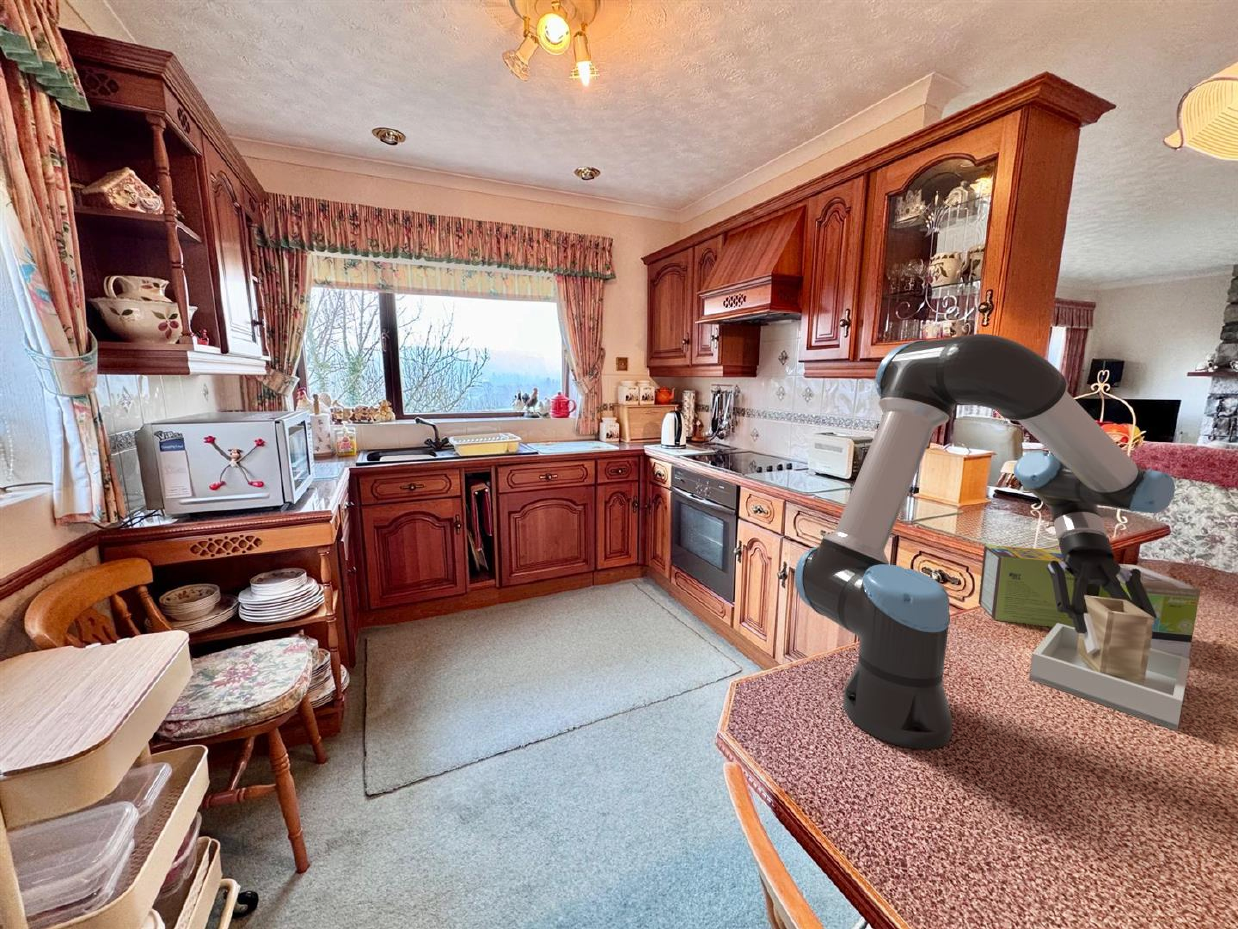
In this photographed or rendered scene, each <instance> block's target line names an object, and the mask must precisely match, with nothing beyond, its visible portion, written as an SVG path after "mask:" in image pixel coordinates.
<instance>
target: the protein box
mask: <svg viewBox="0 0 1238 929" xmlns="http://www.w3.org/2000/svg"><path fill="white" fill-rule="evenodd" d="M982 556H983V557H982V566H981V575H980V586H979V594H978V604H979V606H981V608H982V609H983V610H984V611H985V612H986V613H987V614H988V615H989V616H990V617H991V618H992V619H994V621H1000V622H1006V623H1007V622H1008V623H1015V622H1017V623H1016V624H1023V623H1025V624H1026V625H1032V626H1041V627H1047V626H1049V628H1054V626H1055V625H1056V624H1057V623H1059V624H1063V625H1066V626H1070V627H1074V628H1075V626H1074V623H1073V619H1071V618H1069V616H1068V614H1067V613H1065V612H1063V613H1061V612H1059V611H1058V610H1057V606H1056V600H1055V594H1054V588H1053V582H1052V576H1051V575H1050V573H1049V572H1048V570H1047V566H1048V565H1049V564H1050V563H1051V562H1052V561H1053V560H1055V561H1057V562H1063V560H1064V558H1063V557H1062V553H1061V550H1058V549H1050V548H1049V549H1047V548H1046V549H1045V548H1035V547H1023V546H1007V545H996V544H995V545H993V544H984V548H983V555H982ZM1064 573H1065V578H1066V583H1067V589H1068V594H1069V600H1070V605H1071V602H1072V596H1073V590H1074V586H1073V584H1074V578H1075V577H1074V576H1073V575H1072V574H1071V573H1069V572H1068V571H1067V570H1066V569H1065V571H1064ZM1025 624H1024V625H1025Z"/></svg>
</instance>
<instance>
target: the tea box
mask: <svg viewBox="0 0 1238 929" xmlns="http://www.w3.org/2000/svg"><path fill="white" fill-rule="evenodd" d="M1118 564H1119V565H1120V567H1121V568H1125V569H1128V570H1132V569H1138V570H1140V571H1141V579H1140V580H1141V583H1142V585H1143V587H1144V589H1145V591H1146V594H1147V596H1148V598H1149V600H1150V602H1151V605H1152V607H1153V609H1154V611H1155V613H1156V616H1157V618H1156V619H1154V624H1153V631H1152V637H1151V644H1150V648H1151V649H1155V650H1159V651H1162V652H1166V653H1170V654H1174V655H1177V656H1181V657H1185V658H1188V659H1189V656H1190V652H1191V647H1192V643H1193V636H1194V631H1195V626H1196V625H1195V624H1196V619H1197V614H1198V606H1199V602H1200V595H1201V588H1200V587H1197V586H1195V585H1192V584H1189V583H1187V582H1183V581H1181V580H1179V579H1175V578H1173V577H1171V576H1168V575H1165V574H1163V573H1160V572H1157V571H1155V570H1151V569H1149V568H1145V567H1143V566H1141V565H1138V564H1137V565H1135V564H1124V563H1123V564H1122V563H1118ZM1116 577H1117V578H1118V579H1119V581H1120V583H1121V584H1120V585H1121V586H1122V588H1123V589H1124V590H1125V592H1126V593H1127V594H1128V596H1129V597H1130V594H1129V592H1128V590H1127V587H1126V584H1125V581H1123V580H1122V577H1121V575H1120V574H1117V575H1116ZM1086 595H1088V596H1096V597H1105V598H1111V596H1110V595H1109V594H1108V592H1107V591H1104V590H1103V588H1102V587H1101V585H1096V584H1088V585H1087V592H1086ZM1130 598H1131V597H1130ZM1131 600H1132V599H1131Z"/></svg>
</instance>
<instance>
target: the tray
mask: <svg viewBox="0 0 1238 929" xmlns="http://www.w3.org/2000/svg"><path fill="white" fill-rule="evenodd" d="M1078 639H1079V633H1077V631H1076V630H1075V628H1074V627H1070V626H1066V625H1063V624H1059V623H1057V624H1056V625H1055V626H1054V627H1052V628H1051V630H1050V631H1049V632H1048V633H1047V635H1046V636H1045V638H1044V639H1042V641H1041V642H1040V643H1039V644H1038V646H1037V647H1036V648H1035V649H1034V651H1033V652H1032V653H1031V659H1030V666H1029V667H1030V668H1029V675H1028V680H1030V681H1033V682H1036V683H1039V684H1042V685H1043V686H1044V685H1045V686H1047V687H1050V688H1053V689H1056V690H1059V691H1062V692H1065V693H1067V694H1071V695H1074V696H1075V697H1079V698H1082V699H1085V700H1087V701H1090V702H1093V703H1096V704H1099V705H1102V706H1105V707H1107V708H1110V709H1113V710H1116V711H1119V712H1121V713H1124V714H1128V715H1130V716H1133V717H1136V718H1138V719H1142V720H1144V721H1147V722H1151V723H1153V724H1156V725H1158V726H1161V727H1163V728H1167V729H1169V730H1173V731H1176V732H1178V730H1179V723H1180V718H1181V711H1182V707H1183V704H1184V703H1183V701H1184V697H1185V691H1186V687H1187V679H1188V675H1189V669H1190V662H1191V658H1189V657H1188V658H1185V657H1181V656H1177V655H1174V654H1170V653H1166V652H1162V651H1159V650H1155V649H1151V648H1150V650H1149V654H1150V657H1149V658H1148V663H1147V669H1146V675H1145V682H1144V684H1137V683H1131V682H1128V681H1125V680H1122V679H1119V678H1115V677H1112V676H1109V675H1106V674H1103V673H1100V672H1096V671H1093V670H1091V669H1090V668H1089V667H1088V666H1087V665H1086V664H1085V663H1084V662H1083V661H1082V660H1081V659H1080V658H1079V657H1078V656H1076V654H1077V646H1078Z"/></svg>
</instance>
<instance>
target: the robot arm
mask: <svg viewBox="0 0 1238 929" xmlns="http://www.w3.org/2000/svg"><path fill="white" fill-rule="evenodd" d="M876 370H877V371H876V374H875V383H876V384H877V386H876V388H875V389H876V391H877V394H878V395H879V398H880V399H879V402H878V406H879V407H880V409H881V411H882V412H883V414H882V417H881V419H880V421H879V424H878V427H877V428H876V431H875V434H874V437H873V438H872V441H871V444H870V446H869V448H868V451H867V453H866V455H865V458H864V460H863V463H862V465H861V466H860V470H859V472H858V475H857V477H856V480H855V482H854V484H853V487H852V489H851V492H850V494H849V497H848V498H847V502H846V504H845V506H844V509H843V511H842V514H841V516H840V518H839V520H838V523H837V526H836V528H835V530H834V531H833V532H832V533H828V534H826V535H823V537H822V539H821V542H820V543H819V546H815V547H811V548H810V549H808V551H805V552H804V553H803V554H802V555H801V556H800V558H799V560H798V561H797V564H796V567H795V570H794V585H795V589H796V591H797V593H798V596H799V597H800V599H801V600H802V602H804V603H805V604H806V605H807V606H809V607H810V608H811V609H812V610H813V611H814V612H816V613H817V614H819V615H821V616H824V617H826V618H827V619H828V620H830V621H832V622H833V623H835V624H837V625H838V626H840V627H842V628H843V629H845V630H847V631H848V632H850V633H852V634H853V635H855V636H857V637H858V638H859V643H858V644H859V646H858V659H857V663H856V665H855V667H854V669H853V672H852V673H851V675H850V677H849V680H848V682H847V684H846V685H845V688H844V690H843V700H842V701H843V702H842V705H843V709H844V712H845V713H846V716H848V719H850V720H851V722H853V723H854V724H855V725H856V726H858V727H859V728H860V729H862V730H863V732H866V733H867V734H870V735H871V736H873V737H875V738H877V739H879V740H882V741H884V742H887V743H889V744H892V745H896V746H898V747H903V748H908V749H916V750H933V749H937V748H941V747H943V746H945V745H947V744H948V743H949V742H950V740H951V738H952V732H953V722H954V721H953V717H952V713H951V708H950V707H949V706H950V705H949V703H948V699H947V695H946V692H945V687H944V685H943V684H944V683H943V680H944V670H945V660H946V652H947V643H948V633H949V626H950V623H951V614H950V598H949V594H948V592H947V590H946V588H944V586H943V585H942V584H941V583H940V582H938V581H937V580H935V579H934V578H933V577H931V576H929V575H927V574H925V573H922V572H921V571H918V570H916V569H912V568H904V567H902V566H899V565H895V564H890V561H889V559H888V557H887V556H886V555H887V554H886V553H885V548H886V546H887V544H888V542H889V539H890V537H891V535H892V532H893V531H894V530H893V529H894V527H895V525H896V522H897V521H898V518H899V515H900V512H901V510H902V508H903V506H904V503H905V501H906V498H907V495H908V493H909V491H910V488H911V486H912V484H913V481H914V480H915V479H914V478H915V476H916V474H917V472H918V469H919V467H920V464H921V462H922V460H923V457H924V455H925V452H926V451H927V447H928V446H929V443H930V440H931V438H932V435H933V433H934V430H935V429H936V428H937V427H939V426H942V425H944V424H946V423H948V422H949V420H950V418H951V417H952V416H951V415H952V414H953V411H954V409H955V407H956V406H976V407H977V406H979V407H984V408H989V409H991V410H993V411H995V412H997V413H998V414H999V415H1000V416H1001V417H1003V418H1005V419H1006V420H1010V421H1015V422H1018V423H1019V424H1020V425H1021V426H1022V427H1023V428H1024V429H1025V430H1026V431H1028V433H1030V434H1031V435H1032V436H1033V437H1034V438H1035V439H1036V440H1037V441H1038V442H1039V443H1040V444H1041V445H1042V446H1044V447H1045V449H1047V450H1048V451H1045V450H1036V451H1031V452H1028V453H1026V454H1025V455H1022V456H1021V457H1019V459H1018V460H1017V461H1016V463H1015V465H1014V466H1013V473H1014V477H1015V478H1016V479H1017V480H1018V481H1019V482H1020V484H1021V485H1022V487H1024V488H1025V489H1027V491H1029V492H1030V493H1031V494H1033V495H1034V496H1035V497H1036V498H1038V499H1039V500H1040V501H1041V502H1042V503H1043V504H1044V505H1045V506H1047V508H1048V509H1049V512H1050V517H1051V520H1052V523H1053V527H1054V531H1055V534H1056V539H1057V541H1058V542H1059V543H1058V545H1059V549H1060V551H1061V553H1062V557H1063V558H1064V560H1063V562H1057V561H1055V560H1053V561H1052V562H1051V563H1050V564H1049V565H1048V566H1047V570H1048V572H1049V573H1050V575H1051V576H1052V582H1053V588H1054V594H1055V600H1056V606H1057V610H1058V611H1059V612H1061V613H1063V612H1065V613H1067V614H1068V616H1069V618H1071V619H1073V623H1074V626H1075V630H1076V631H1077V633H1082V635H1083V639H1084V642H1085V646H1086V650H1087V653H1088V654H1094V653H1095V652H1096V651H1098V650H1099V649H1100V648H1099V645H1098V641H1097V638H1096V634H1095V631H1094V627H1093V624H1092V620H1091V617H1090V614H1087V613H1084V614H1083V611H1084V605H1085V598H1084V595H1086V592H1087V585H1088V584H1096V585H1101V587H1102V588H1103V590H1104V591H1107V592H1108V594H1109V595H1110V596H1111V598H1113V599H1122V600H1127V601H1129V602H1130V603H1132V604H1133V605H1135V606H1136V607H1138V608H1140V609H1141V610H1143V611H1144V612H1146V613H1148V614H1149V615H1151V616H1152V617H1154V619H1156V618H1157V616H1156V613H1155V611H1154V609H1153V607H1152V605H1151V602H1150V600H1149V598H1148V596H1147V594H1146V591H1145V589H1144V587H1143V585H1142V583H1141V580H1140V579H1141V571H1140V570H1138V569H1132V570H1128V569H1125V568H1121V567H1120V565H1119V564H1120V563H1118V562H1117V561H1116V559H1115V552H1114V550H1113V547H1112V545H1111V542H1110V539H1109V538H1108V537H1109V536H1108V532H1107V529H1106V527H1105V523H1104V521H1103V518H1102V516H1101V513H1100V510H1099V508H1098V506H1100V507H1101V506H1102V507H1107V508H1112V509H1118V510H1119V509H1120V510H1124V511H1128V512H1129V511H1130V512H1132V513H1133V512H1138V513H1147V514H1158V513H1161V512H1163V511H1165V510H1166V509H1167V508H1168V507H1169V506H1170V505H1171V502H1172V501H1173V499H1174V496H1175V492H1176V485H1175V484H1176V483H1175V481H1174V480H1175V479H1173V477H1172V476H1171V475H1170V474H1169V473H1167V472H1164V471H1158V470H1154V469H1149V468H1148V469H1143V468H1141V467H1140V466H1139V465H1138V464H1137V463H1136V462H1135V461H1134V460H1133V459H1132V458H1131V457H1130V456H1129V455H1128V454H1127V453H1126V451H1124V449H1122V447H1120V446H1119V444H1117V442H1116V441H1115V440H1114V439H1113V438H1112V437H1111V436H1110V435H1109V433H1107V432H1106V431H1105V430H1104V429H1103V428H1102V427H1101V426H1100V424H1099V423H1097V422H1096V421H1095V419H1094V418H1093V417H1092V416H1091V415H1090V413H1088V412H1087V411H1086V410H1085V409H1084V408H1083V407H1082V405H1080V403H1079V402H1078V401H1076V399H1075V398H1074V397H1073V396H1072V395H1071V394H1070V393H1069V391H1067V390H1068V380H1067V378H1066V377H1065V376H1064V375H1063V374H1062V373H1061V371H1060V370H1059V369H1058V368H1056V367H1055V366H1054V365H1053V364H1052V363H1051V362H1049V360H1047V359H1046V358H1045V357H1043V356H1042V355H1041V354H1039V353H1038V352H1036V351H1034V350H1032V349H1030V348H1029V347H1027V346H1025V345H1023V344H1021V343H1019V342H1017V341H1014V340H1012V339H1009V338H1006V337H1004V336H999V335H996V334H987V333H975V334H967V335H962V336H961V335H960V336H954V337H948V338H947V337H945V338H938V339H930V340H928V339H922V340H916V341H912V342H910V343H905V344H901V345H899V346H897V347H895V348H893V349H892V350H890V351H889V352H888V353H887V354H886V355H885V356H884V358H883V359H882V360H881V362H880V364H879V366H878V368H877V369H876ZM1065 569H1066V570H1067V571H1068V572H1069V573H1071V574H1072V575H1073V576H1074V577H1075V578H1074V584H1073V586H1074V590H1073V596H1072V602H1071V605H1070V600H1069V594H1068V589H1067V583H1066V578H1065V573H1064V571H1065ZM1117 574H1120V575H1121V577H1122V580H1123V581H1125V584H1126V587H1127V590H1128V592H1129V594H1130V597H1131V598H1130V597H1129V596H1128V594H1127V593H1126V592H1125V590H1124V589H1123V588H1122V586H1121V585H1120V584H1121V583H1120V581H1119V579H1118V578H1117V577H1116V575H1117ZM1131 599H1132V600H1131ZM1149 657H1150V654H1149V656H1148V658H1149Z"/></svg>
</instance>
